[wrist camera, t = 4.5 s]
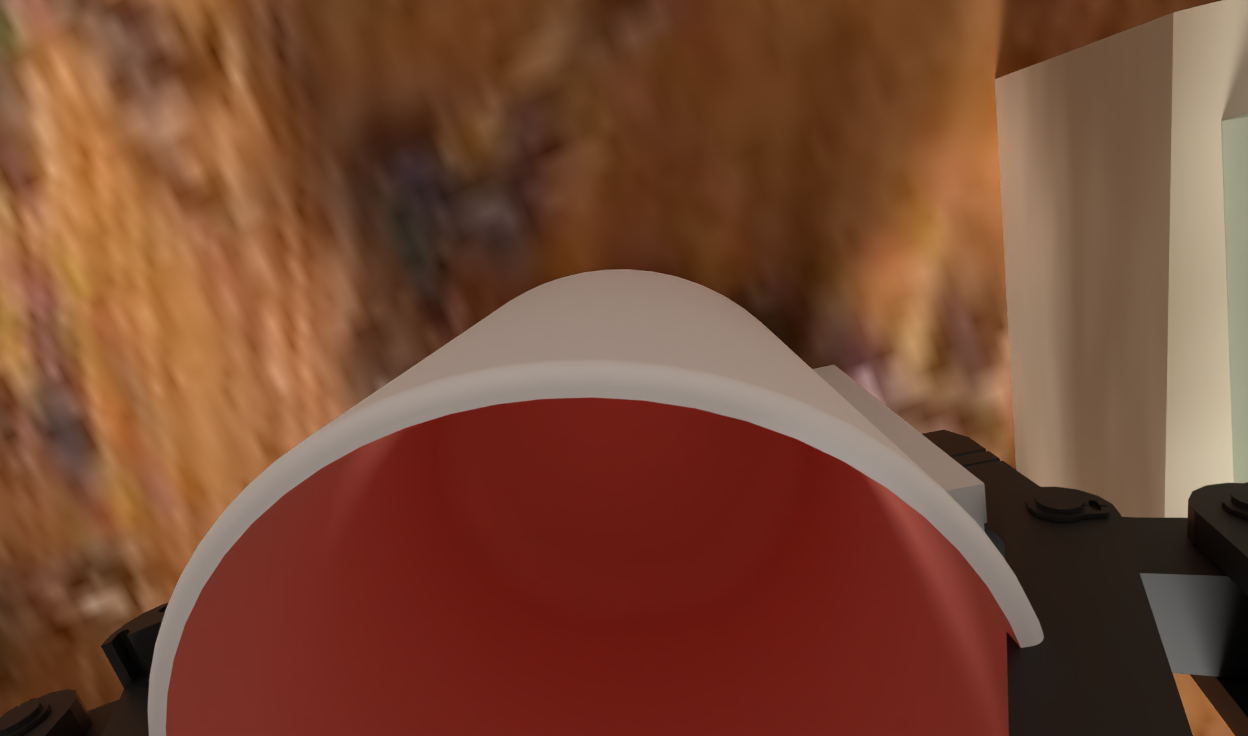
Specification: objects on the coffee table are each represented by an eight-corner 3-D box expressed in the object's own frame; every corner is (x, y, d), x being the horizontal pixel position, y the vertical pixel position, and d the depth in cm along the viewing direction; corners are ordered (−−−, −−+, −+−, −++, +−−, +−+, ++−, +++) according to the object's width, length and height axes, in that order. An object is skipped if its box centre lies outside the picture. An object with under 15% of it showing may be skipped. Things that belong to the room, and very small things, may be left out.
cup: (401, 300, 15) (-31, 460, 5) (784, 231, 14) (1087, 271, 5) (491, 620, 18) (309, 1120, 8) (821, 575, 17) (1065, 1067, 7)
